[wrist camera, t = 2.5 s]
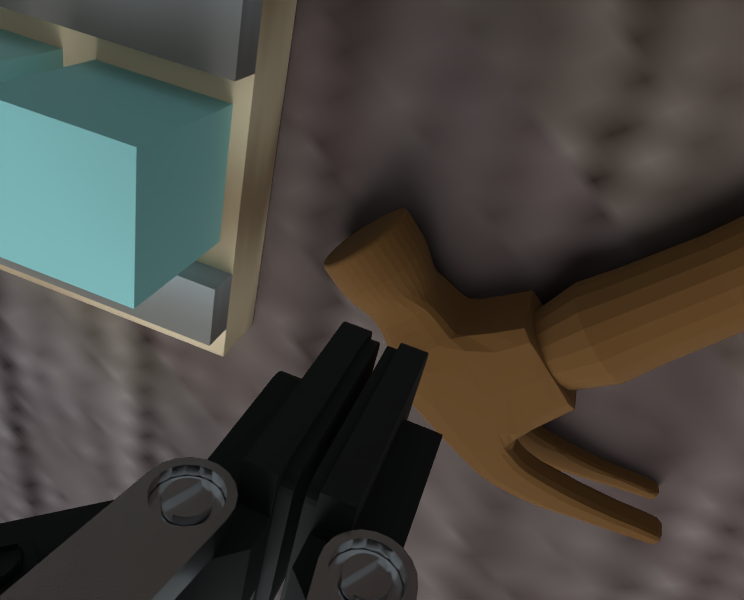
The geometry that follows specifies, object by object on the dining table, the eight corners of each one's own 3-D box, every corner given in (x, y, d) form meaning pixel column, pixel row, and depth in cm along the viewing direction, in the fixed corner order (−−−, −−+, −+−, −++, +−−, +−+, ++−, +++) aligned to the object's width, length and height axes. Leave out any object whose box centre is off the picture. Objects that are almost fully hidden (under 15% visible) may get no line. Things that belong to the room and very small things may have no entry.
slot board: (-68, -172, 18) (-180, -189, 15) (306, -70, 16) (249, -70, 13) (-18, 222, 24) (-91, 255, 22) (252, 324, 22) (206, 374, 20)
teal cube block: (95, 59, 17) (-30, 90, 14) (232, 104, 16) (136, 147, 13) (98, 197, 19) (-10, 253, 16) (219, 241, 19) (134, 308, 15)
